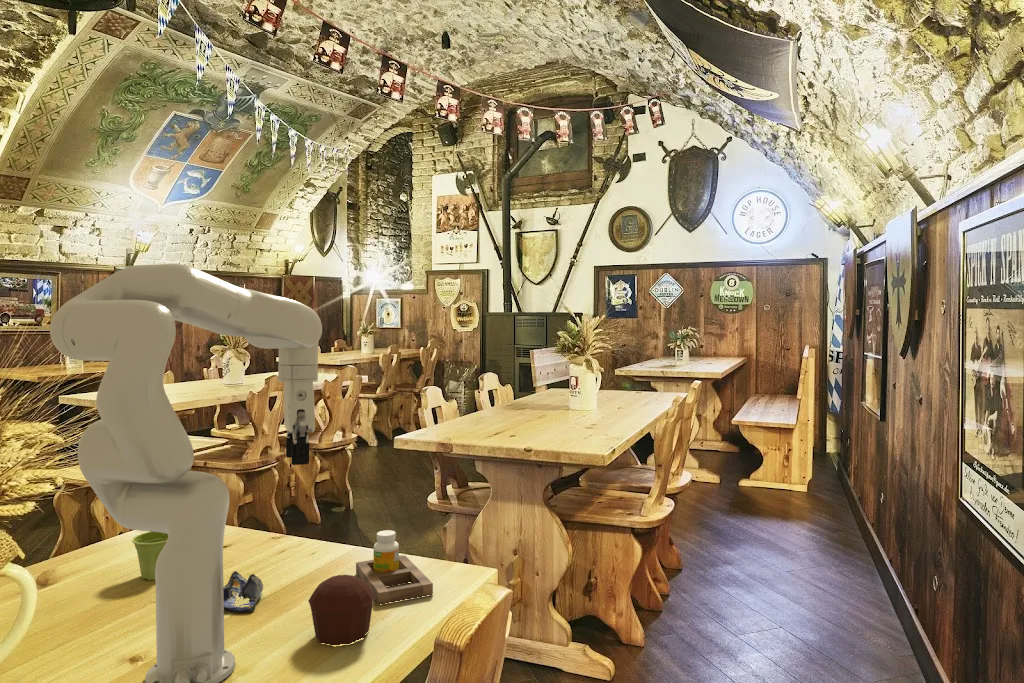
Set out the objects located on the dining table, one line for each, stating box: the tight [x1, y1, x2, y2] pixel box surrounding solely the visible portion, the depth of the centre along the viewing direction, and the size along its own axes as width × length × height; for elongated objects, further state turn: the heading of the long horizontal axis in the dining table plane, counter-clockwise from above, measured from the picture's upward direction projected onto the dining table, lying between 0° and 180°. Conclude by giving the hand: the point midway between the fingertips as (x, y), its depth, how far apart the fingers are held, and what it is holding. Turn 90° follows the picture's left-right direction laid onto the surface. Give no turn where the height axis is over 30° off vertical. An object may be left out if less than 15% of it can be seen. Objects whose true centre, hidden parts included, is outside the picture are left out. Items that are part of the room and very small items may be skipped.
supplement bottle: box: [373, 529, 400, 574], centre depth 146 cm, size 5×5×10 cm
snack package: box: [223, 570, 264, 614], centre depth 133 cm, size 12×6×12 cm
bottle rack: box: [355, 554, 434, 606], centre depth 142 cm, size 19×11×2 cm, turn 26°
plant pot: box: [131, 531, 168, 581], centre depth 148 cm, size 9×9×9 cm
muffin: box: [307, 574, 376, 645], centre depth 119 cm, size 12×11×10 cm
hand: (297, 460), depth 135 cm, fingers open, 9 cm apart
